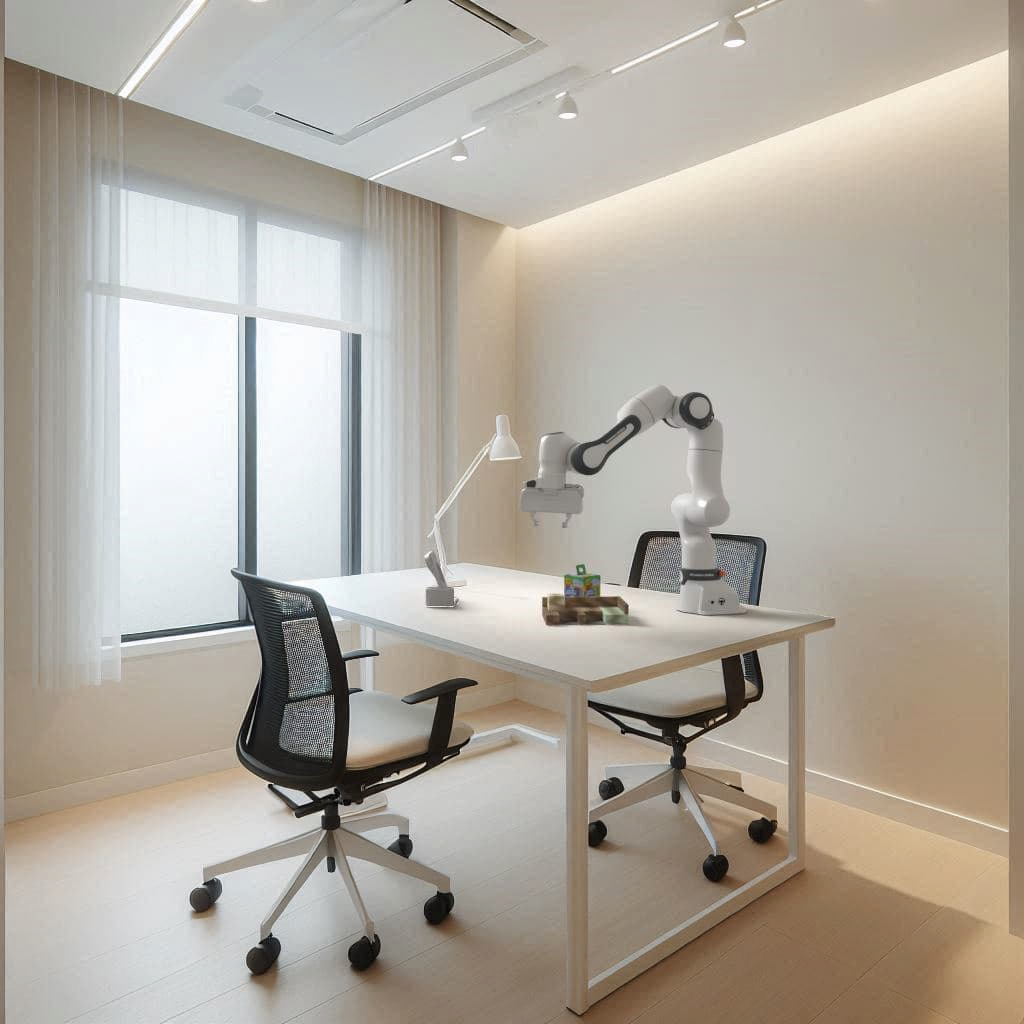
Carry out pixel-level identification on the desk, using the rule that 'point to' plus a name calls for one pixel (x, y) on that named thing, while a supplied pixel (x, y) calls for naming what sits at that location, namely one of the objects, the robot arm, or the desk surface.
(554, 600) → the maple block
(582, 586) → the chalk box
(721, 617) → the desk surface
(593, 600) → the track
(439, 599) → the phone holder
